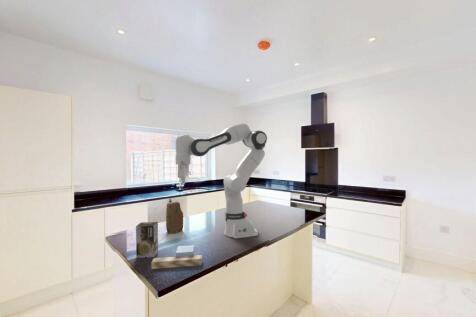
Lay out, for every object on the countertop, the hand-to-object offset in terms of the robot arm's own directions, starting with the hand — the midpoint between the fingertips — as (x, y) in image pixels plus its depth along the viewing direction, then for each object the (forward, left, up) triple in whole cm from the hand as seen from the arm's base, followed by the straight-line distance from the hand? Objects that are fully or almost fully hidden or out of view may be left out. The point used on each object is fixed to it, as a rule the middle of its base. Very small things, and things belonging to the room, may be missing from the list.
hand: (183, 184), depth 127 cm
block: (+8, -18, -34) cm, 40 cm away
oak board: (-1, +30, -34) cm, 45 cm away
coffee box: (+16, +17, -34) cm, 41 cm away
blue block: (-4, +24, -34) cm, 42 cm away
